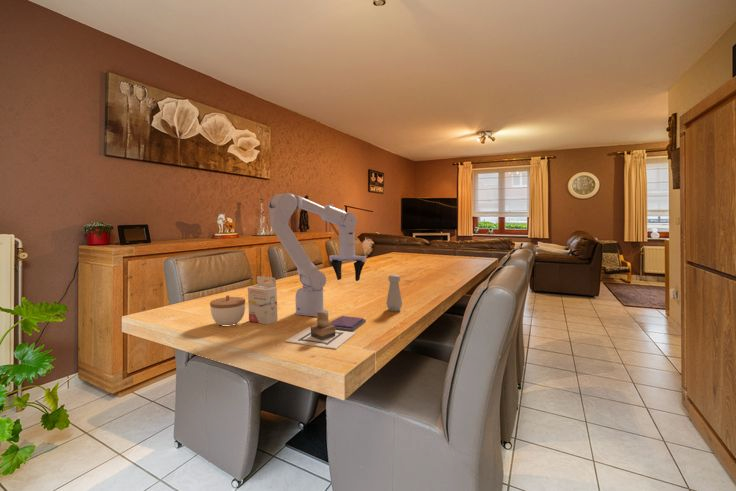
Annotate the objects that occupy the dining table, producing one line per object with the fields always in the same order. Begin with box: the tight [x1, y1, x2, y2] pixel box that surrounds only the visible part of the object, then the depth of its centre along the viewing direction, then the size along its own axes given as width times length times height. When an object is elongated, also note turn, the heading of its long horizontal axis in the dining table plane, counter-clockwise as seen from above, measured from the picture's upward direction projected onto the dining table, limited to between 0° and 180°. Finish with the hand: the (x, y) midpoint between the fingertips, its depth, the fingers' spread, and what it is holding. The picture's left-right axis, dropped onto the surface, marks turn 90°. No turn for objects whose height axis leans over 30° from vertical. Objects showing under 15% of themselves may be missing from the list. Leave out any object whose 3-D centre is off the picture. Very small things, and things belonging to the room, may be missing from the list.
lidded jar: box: [209, 295, 246, 326], centre depth 115 cm, size 11×11×9 cm
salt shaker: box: [386, 274, 403, 312], centre depth 129 cm, size 6×6×13 cm
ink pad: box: [329, 315, 367, 332], centre depth 113 cm, size 9×10×1 cm
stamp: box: [310, 310, 336, 340], centre depth 101 cm, size 5×5×7 cm
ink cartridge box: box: [247, 276, 278, 326], centre depth 117 cm, size 9×5×15 cm, turn 65°
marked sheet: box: [284, 326, 357, 350], centre depth 101 cm, size 16×13×1 cm
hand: (348, 279), depth 134 cm, fingers open, 7 cm apart
